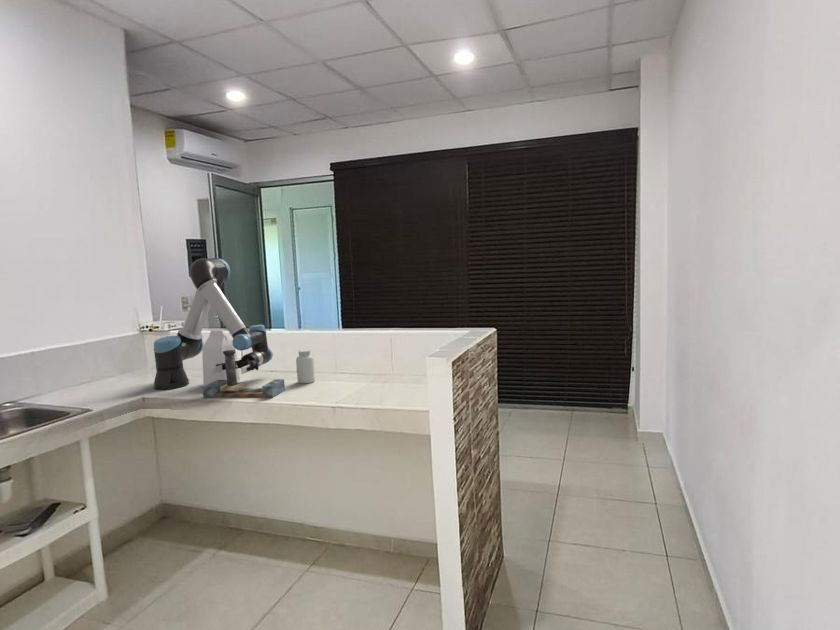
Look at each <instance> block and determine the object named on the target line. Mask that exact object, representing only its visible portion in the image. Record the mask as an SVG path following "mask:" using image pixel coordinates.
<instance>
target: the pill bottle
mask: <svg viewBox="0 0 840 630" xmlns="http://www.w3.org/2000/svg"><path fill="white" fill-rule="evenodd" d="M295 362H296V364H295V365H296V376H297V377H296V378H297V383H298V384H311V383H314V382H315V381H316V379H315V378H316V377H315V366H314V365H315V363H314V362H315V361H314V357H313V355H311V350H310V349H300V350H298V356H297V357H296V360H295Z"/></svg>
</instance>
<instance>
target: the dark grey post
mask: <svg viewBox="0 0 840 630" xmlns="http://www.w3.org/2000/svg"><path fill="white" fill-rule="evenodd" d="M235 350H236V349H235ZM235 350H226V351H223V354H225V365H226V375H227V384H225V385H223V386H221V387H220V390H222V391H238V389H239V388H244V387H245V382H244V381H242V382H241V381H238V382H237V377H236V367H235V356H234V353H235Z"/></svg>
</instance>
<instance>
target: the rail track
mask: <svg viewBox="0 0 840 630" xmlns="http://www.w3.org/2000/svg"><path fill="white" fill-rule="evenodd" d="M225 384H227V380H216V381H214V382H212V383H210V384H207V385H205V386H204V385H203V386H202V396H203V399H213V398H262V399H273V397H274V398H275V397H276V396H278V395H280V394H282V393H283V392H284V391H286V387H285V384H286V383H285V379H284V378H283V379H281V378H280V379H279V378H277V379H272V380H271V381H269V382H267V383H266V384H264V385H262V386H261V387H243V388H239V389H238V391H222V390H220V387H221V386H223V385H225Z"/></svg>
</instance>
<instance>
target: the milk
mask: <svg viewBox="0 0 840 630" xmlns="http://www.w3.org/2000/svg"><path fill="white" fill-rule="evenodd" d="M232 341H233V340H231V338H229V337H228V336H227V335H226V331H224V329H211V330H210V332H209V336H208V337H207V339H206V340H205V342H203V347H202V351H201V355H202V374H203V375H202V376H203V377H202V379H203V386H205V385H207V384H210V383H212V382H214V381H216V380H227V375H226V370H222V371H221V372H219V373H216V374H213V373H212V368H214V367H216V365H217V364H221V363H225V354H223V351H226V350H235V353H234V356H235V361H238V358H237V352H236V350H237V349H235V348H234V346H233V342H232ZM236 367H238V366H237V365H236ZM236 377H237V382H241V379H240V378H241V377H240V370H239V368H238V369H236Z"/></svg>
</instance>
